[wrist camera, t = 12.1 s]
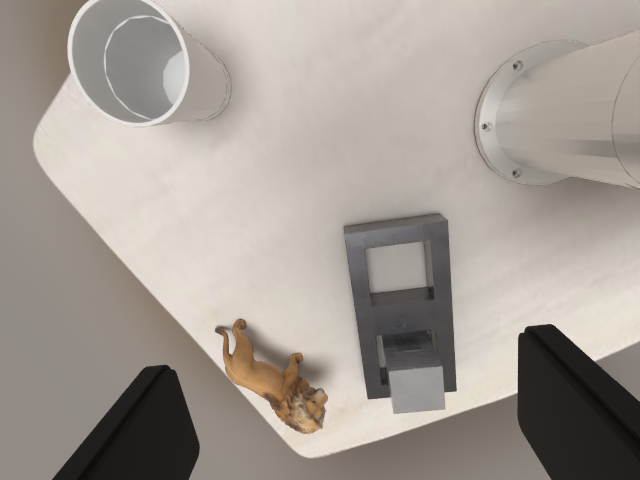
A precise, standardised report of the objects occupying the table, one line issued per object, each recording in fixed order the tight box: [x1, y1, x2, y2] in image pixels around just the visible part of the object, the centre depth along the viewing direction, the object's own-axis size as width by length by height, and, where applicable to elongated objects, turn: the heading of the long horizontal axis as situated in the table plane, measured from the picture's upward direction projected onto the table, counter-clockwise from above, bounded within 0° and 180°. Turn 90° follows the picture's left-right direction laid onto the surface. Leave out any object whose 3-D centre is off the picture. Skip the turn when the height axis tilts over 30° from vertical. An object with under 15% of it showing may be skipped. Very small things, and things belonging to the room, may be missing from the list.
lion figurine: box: [215, 319, 328, 434], centre depth 38 cm, size 15×5×9 cm, turn 65°
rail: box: [344, 214, 457, 399], centre depth 38 cm, size 10×20×3 cm, turn 9°
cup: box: [68, 0, 231, 128], centre depth 28 cm, size 8×8×12 cm
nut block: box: [381, 330, 445, 414], centre depth 37 cm, size 5×5×8 cm
